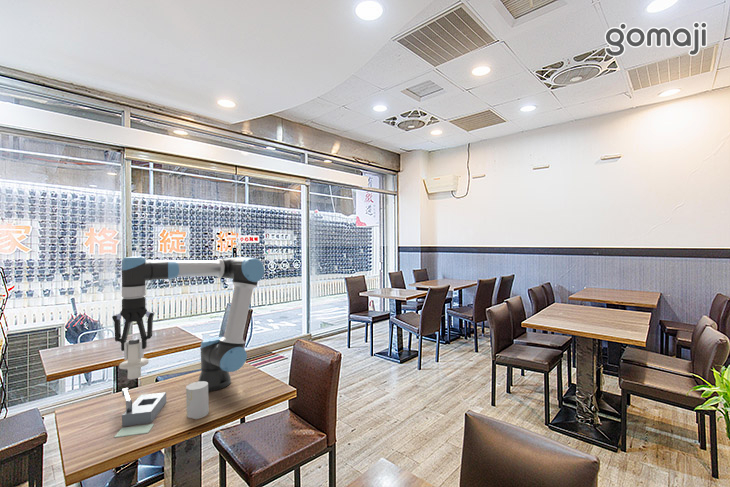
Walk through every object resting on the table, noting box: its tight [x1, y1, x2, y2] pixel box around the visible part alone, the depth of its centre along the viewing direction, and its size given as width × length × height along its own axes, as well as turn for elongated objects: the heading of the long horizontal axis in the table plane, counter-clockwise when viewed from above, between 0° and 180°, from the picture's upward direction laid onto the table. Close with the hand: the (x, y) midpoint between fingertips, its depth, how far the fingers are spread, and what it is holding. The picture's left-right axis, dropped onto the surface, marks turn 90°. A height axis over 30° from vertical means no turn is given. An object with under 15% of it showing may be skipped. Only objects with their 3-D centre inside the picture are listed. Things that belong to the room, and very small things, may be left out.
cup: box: [185, 381, 210, 420], centre depth 139 cm, size 8×8×12 cm
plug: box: [118, 338, 150, 380], centre depth 128 cm, size 9×9×14 cm
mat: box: [113, 423, 155, 439], centre depth 126 cm, size 11×6×1 cm, turn 104°
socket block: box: [121, 391, 167, 428], centre depth 139 cm, size 10×18×5 cm, turn 14°
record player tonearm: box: [121, 387, 133, 412], centre depth 137 cm, size 2×16×4 cm, turn 41°
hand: (134, 358), depth 128 cm, fingers closed on plug, 4 cm apart
